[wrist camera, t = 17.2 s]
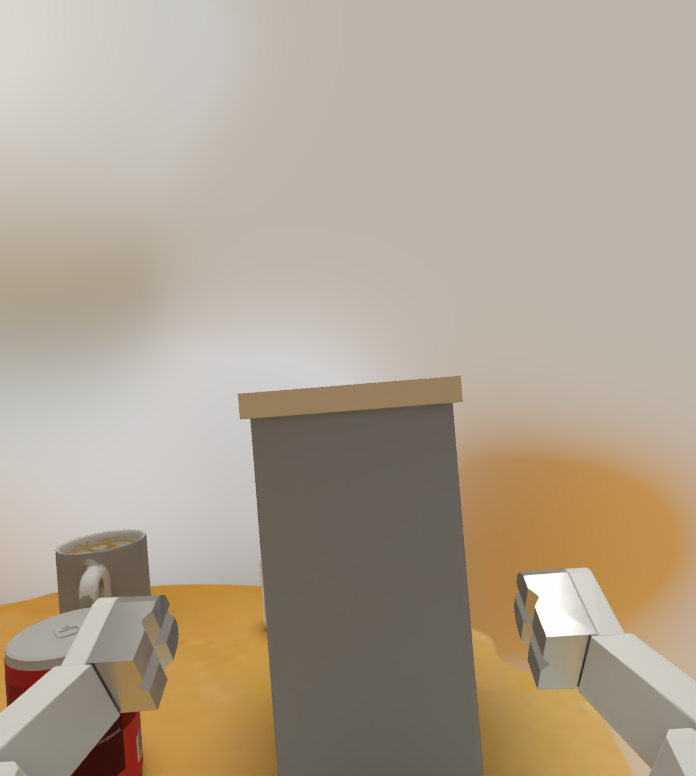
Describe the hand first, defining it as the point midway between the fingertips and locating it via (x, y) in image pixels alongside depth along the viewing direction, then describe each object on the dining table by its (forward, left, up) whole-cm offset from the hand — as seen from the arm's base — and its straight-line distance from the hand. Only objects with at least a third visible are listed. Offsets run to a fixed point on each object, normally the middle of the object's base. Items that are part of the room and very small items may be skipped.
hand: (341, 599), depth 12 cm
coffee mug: (+32, +47, -21) cm, 61 cm away
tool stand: (+23, +9, -21) cm, 32 cm away
